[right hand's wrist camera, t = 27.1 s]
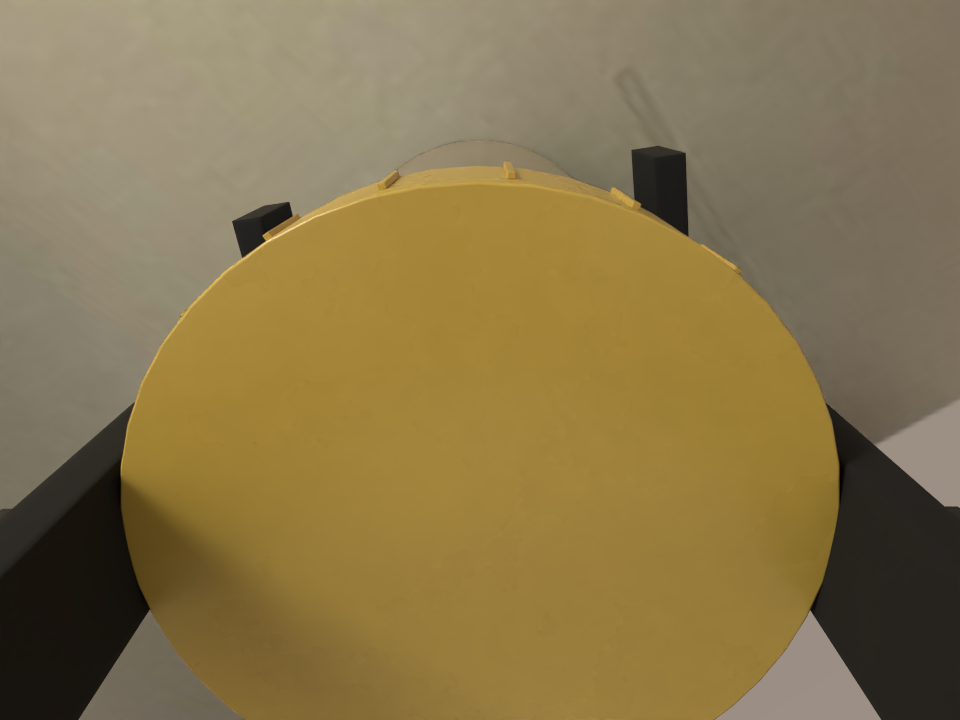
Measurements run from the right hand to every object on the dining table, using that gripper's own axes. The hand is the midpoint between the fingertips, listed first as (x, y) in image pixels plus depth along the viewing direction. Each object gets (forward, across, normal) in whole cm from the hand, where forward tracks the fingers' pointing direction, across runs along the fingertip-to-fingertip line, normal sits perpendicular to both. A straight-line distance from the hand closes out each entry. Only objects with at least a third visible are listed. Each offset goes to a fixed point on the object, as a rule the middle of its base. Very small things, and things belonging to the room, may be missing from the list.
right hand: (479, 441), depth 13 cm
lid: (-3, 0, 0) cm, 3 cm away
